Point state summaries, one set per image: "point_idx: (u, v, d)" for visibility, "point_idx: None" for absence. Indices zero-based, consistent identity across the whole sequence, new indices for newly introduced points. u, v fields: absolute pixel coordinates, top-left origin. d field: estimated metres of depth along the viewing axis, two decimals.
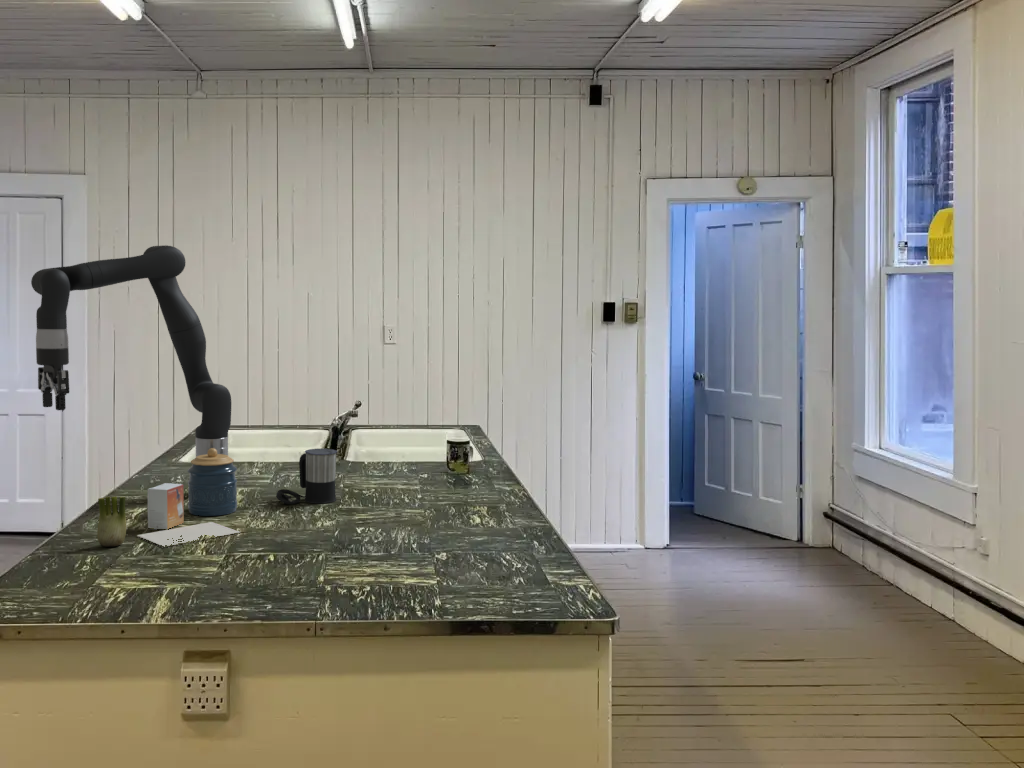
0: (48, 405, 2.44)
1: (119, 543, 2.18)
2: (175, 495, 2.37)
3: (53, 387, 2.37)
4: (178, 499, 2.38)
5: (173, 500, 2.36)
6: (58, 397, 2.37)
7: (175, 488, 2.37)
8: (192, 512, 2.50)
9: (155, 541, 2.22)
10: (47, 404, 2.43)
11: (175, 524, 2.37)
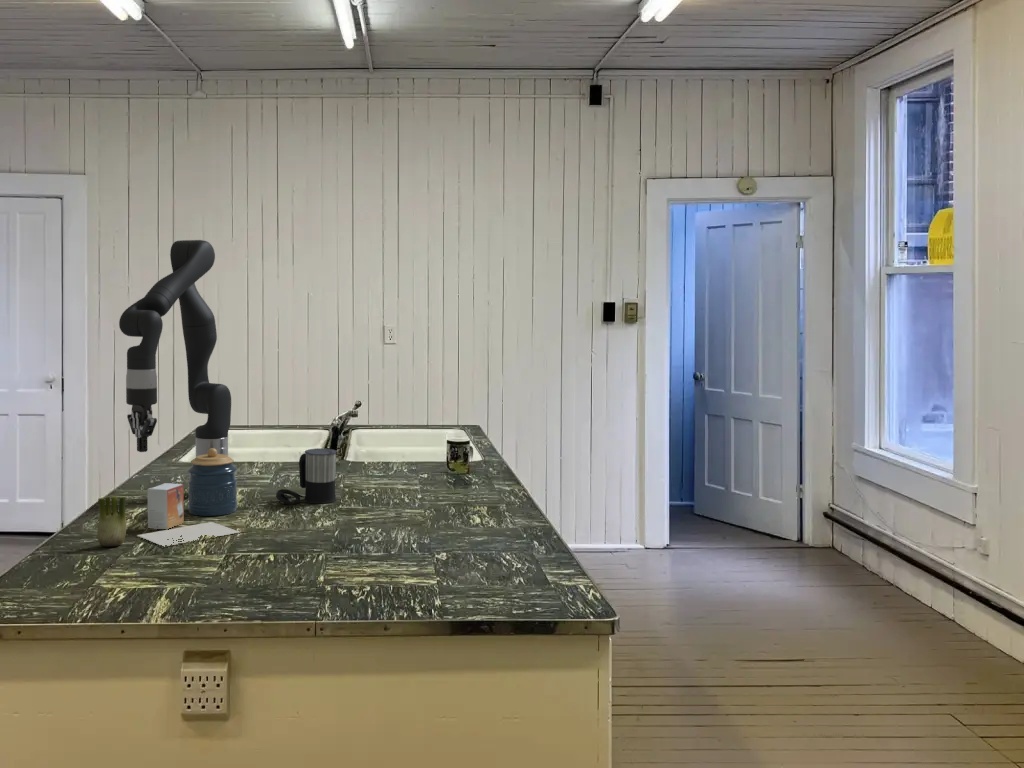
0: None
1: (119, 543, 2.18)
2: (175, 495, 2.37)
3: (138, 429, 2.42)
4: (178, 499, 2.38)
5: (173, 500, 2.36)
6: (141, 439, 2.42)
7: (175, 488, 2.37)
8: (192, 512, 2.50)
9: (155, 541, 2.22)
10: None
11: (175, 524, 2.37)
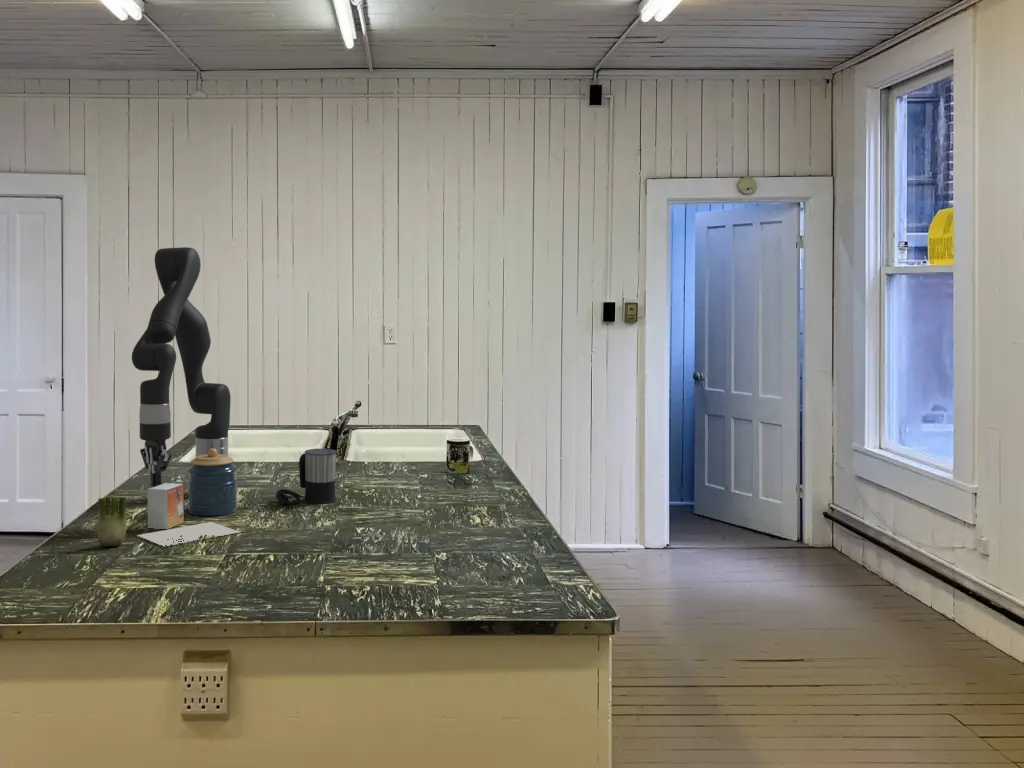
0: None
1: (119, 543, 2.18)
2: (175, 495, 2.37)
3: (152, 464, 2.38)
4: (178, 498, 2.38)
5: (173, 500, 2.36)
6: (155, 474, 2.39)
7: (175, 488, 2.37)
8: (192, 512, 2.50)
9: (155, 541, 2.22)
10: None
11: (175, 524, 2.37)
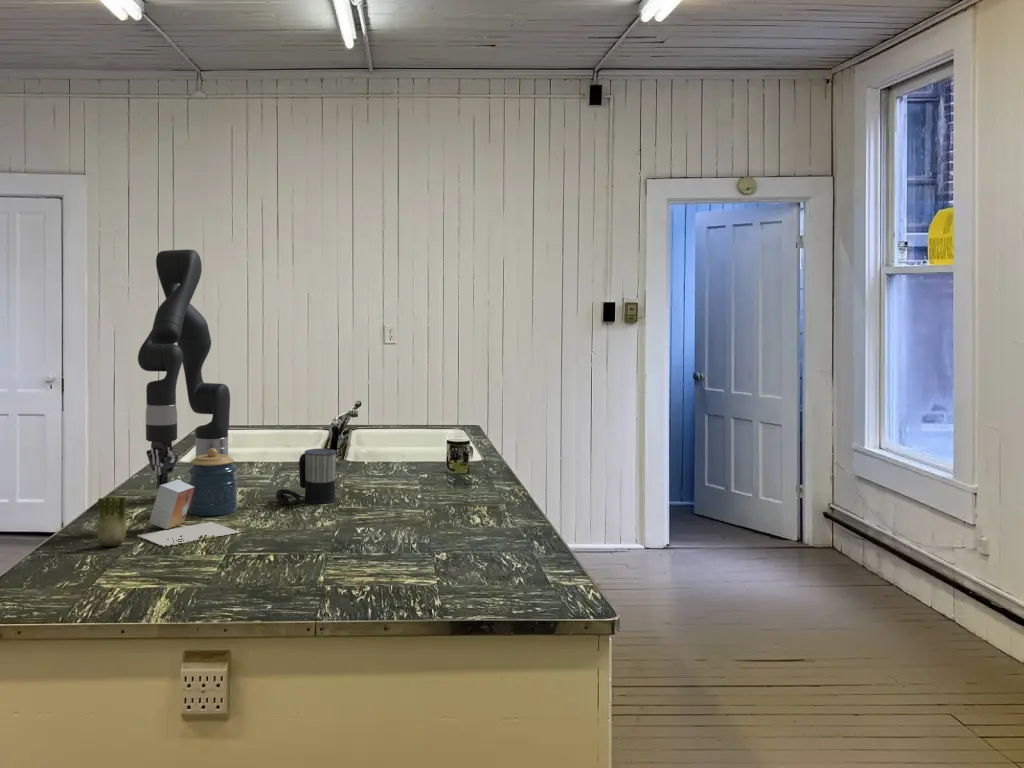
0: None
1: (119, 543, 2.18)
2: (184, 497, 2.36)
3: (158, 466, 2.35)
4: (185, 500, 2.37)
5: (181, 502, 2.35)
6: (161, 476, 2.36)
7: (186, 491, 2.36)
8: (192, 512, 2.50)
9: (155, 541, 2.22)
10: None
11: (176, 524, 2.37)
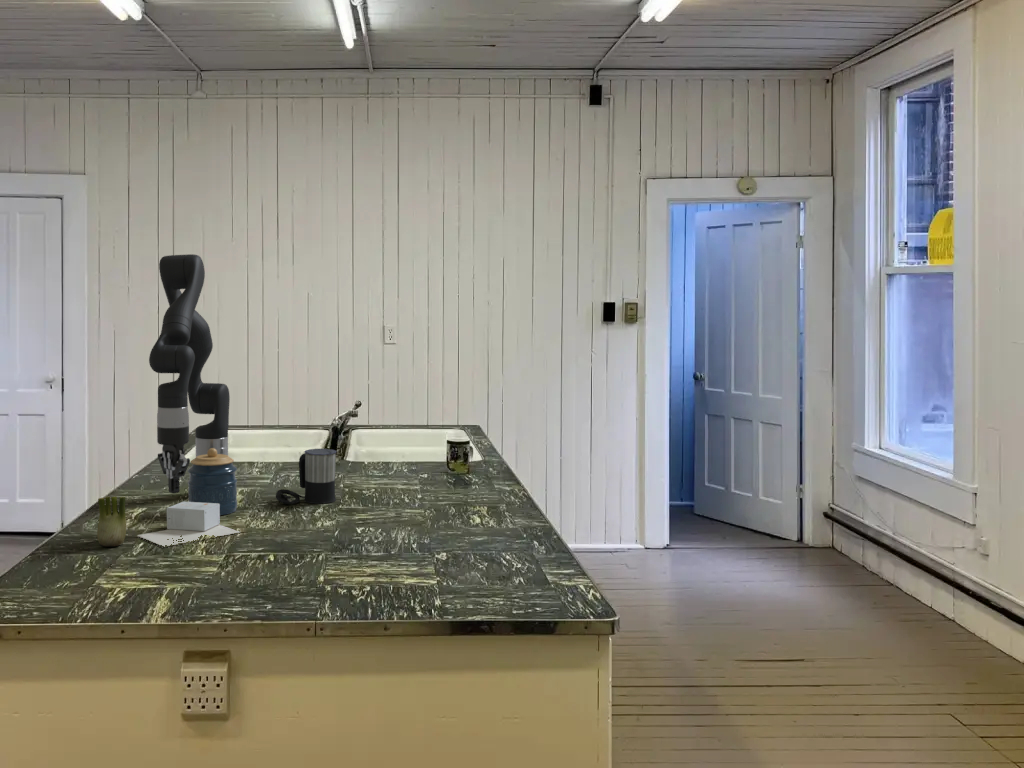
0: None
1: (119, 543, 2.18)
2: None
3: (170, 469, 2.31)
4: None
5: None
6: (173, 480, 2.32)
7: (211, 527, 2.35)
8: None
9: (155, 541, 2.22)
10: None
11: None
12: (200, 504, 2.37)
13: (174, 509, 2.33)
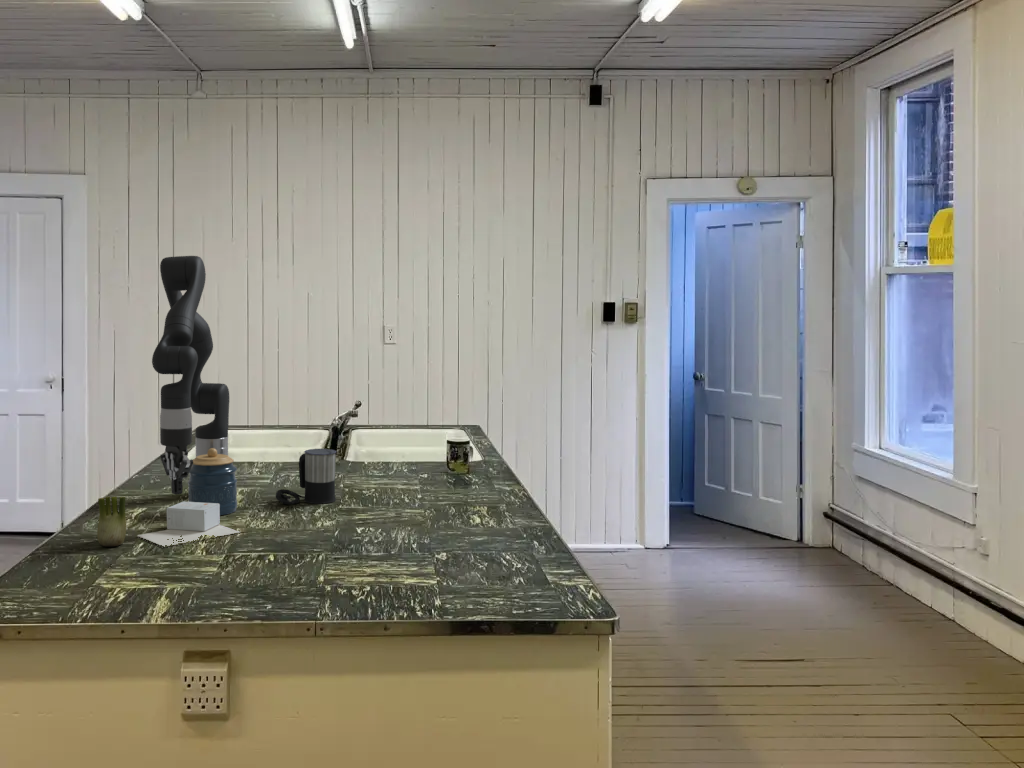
0: None
1: (119, 543, 2.18)
2: None
3: (173, 470, 2.31)
4: None
5: None
6: (176, 481, 2.31)
7: (211, 527, 2.35)
8: None
9: (155, 541, 2.22)
10: None
11: None
12: (200, 504, 2.37)
13: (174, 509, 2.33)
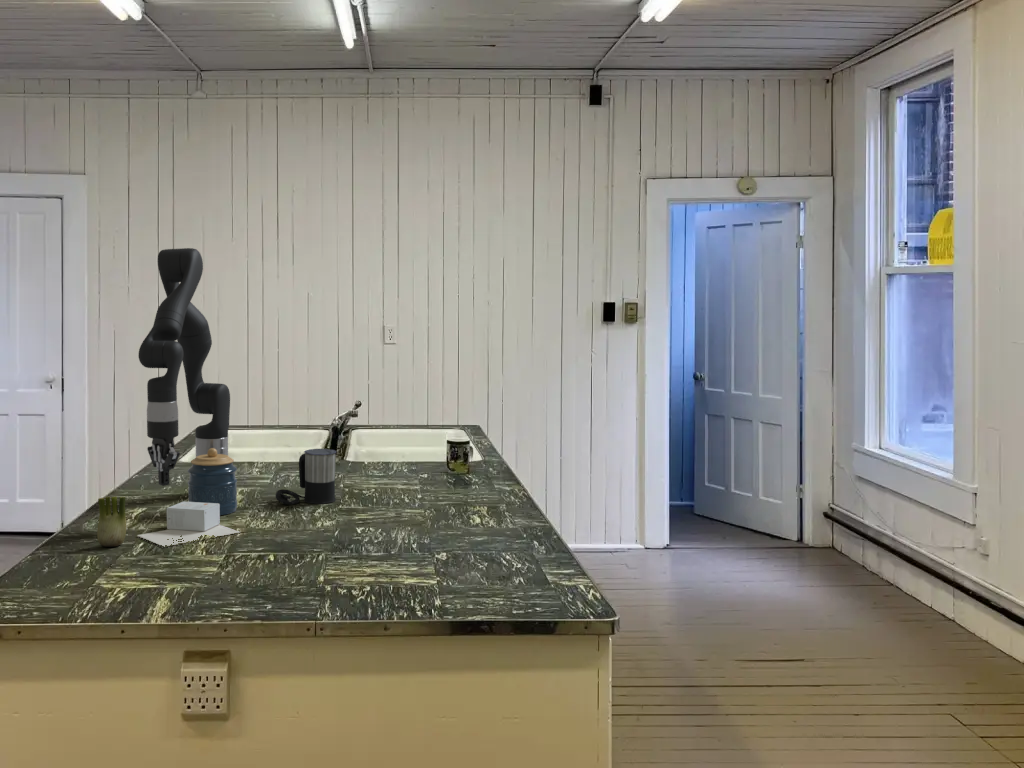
0: None
1: (119, 543, 2.18)
2: None
3: (160, 462, 2.36)
4: None
5: None
6: (163, 473, 2.37)
7: (211, 527, 2.35)
8: None
9: (155, 541, 2.22)
10: None
11: None
12: (200, 504, 2.37)
13: (174, 509, 2.33)
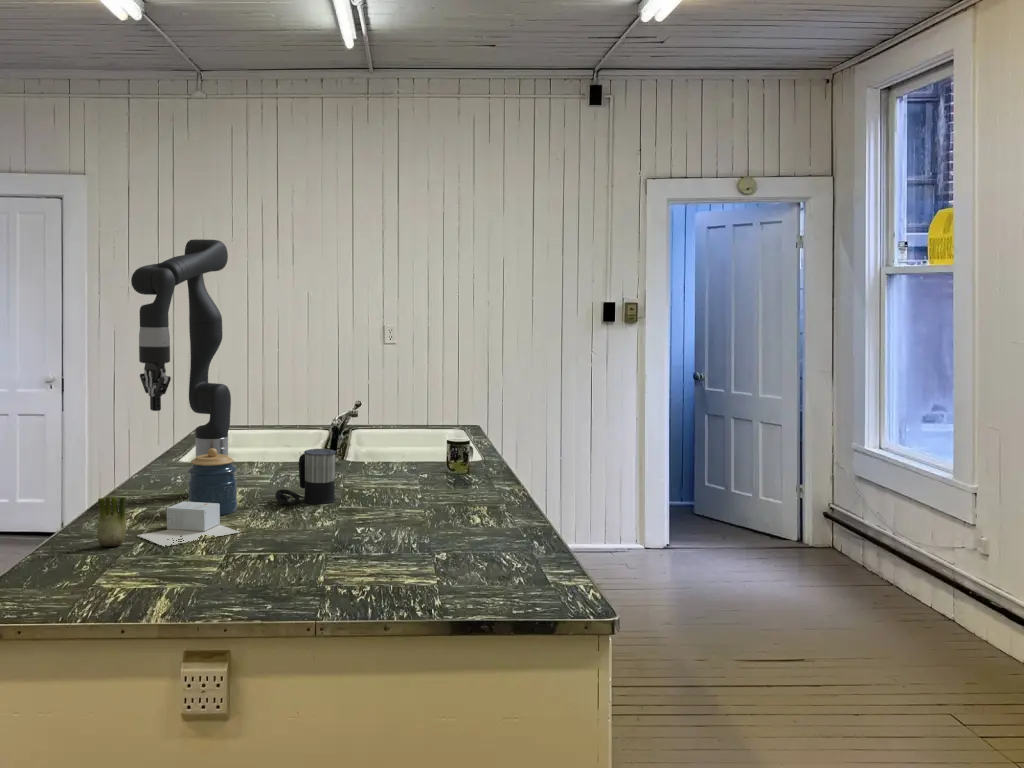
0: None
1: (119, 543, 2.18)
2: None
3: (151, 387, 2.40)
4: None
5: None
6: (154, 398, 2.41)
7: (211, 527, 2.35)
8: None
9: (155, 541, 2.22)
10: None
11: None
12: (200, 504, 2.37)
13: (174, 509, 2.33)
